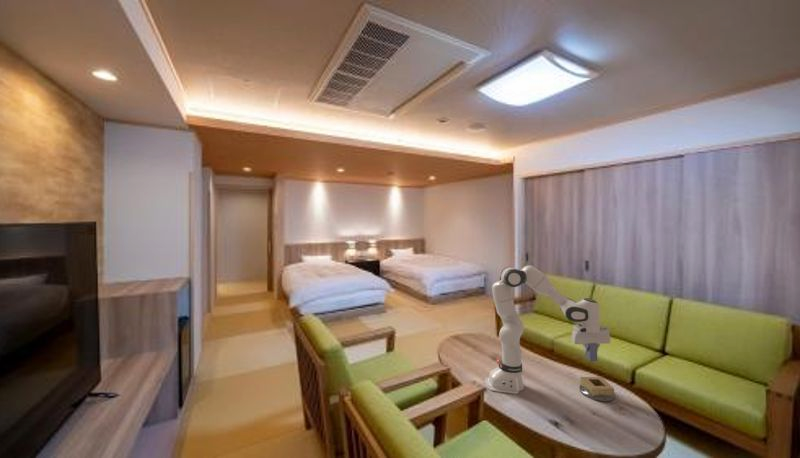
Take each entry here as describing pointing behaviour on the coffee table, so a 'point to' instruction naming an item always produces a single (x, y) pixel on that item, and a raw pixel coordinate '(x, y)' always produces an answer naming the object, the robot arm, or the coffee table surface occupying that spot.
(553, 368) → the coffee table surface
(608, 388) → the rosette plate
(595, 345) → the grey rectangular block
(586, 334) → the robot arm
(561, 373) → the coffee table surface
